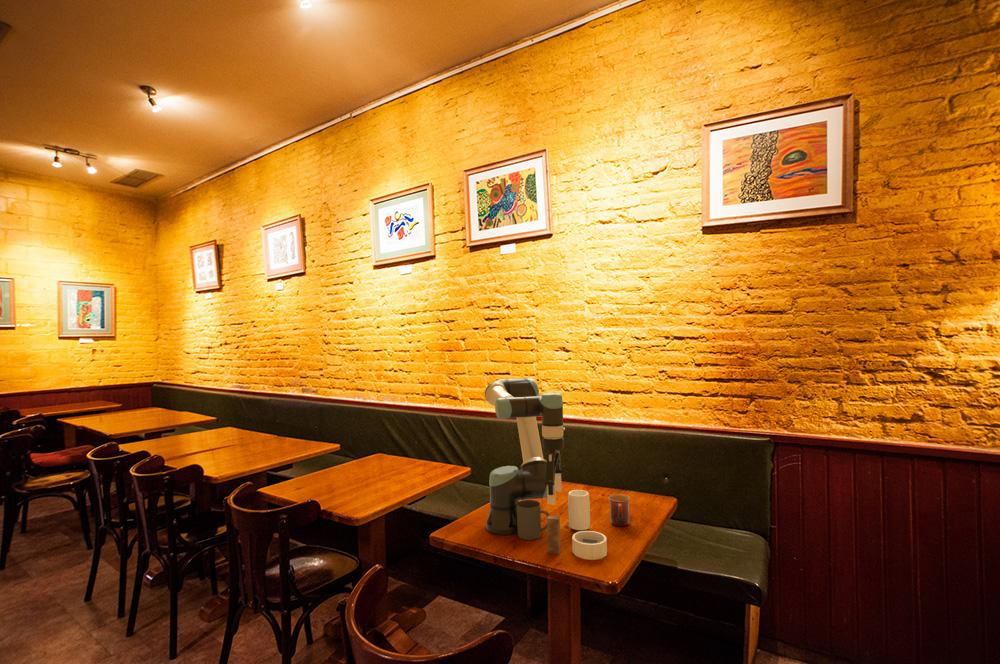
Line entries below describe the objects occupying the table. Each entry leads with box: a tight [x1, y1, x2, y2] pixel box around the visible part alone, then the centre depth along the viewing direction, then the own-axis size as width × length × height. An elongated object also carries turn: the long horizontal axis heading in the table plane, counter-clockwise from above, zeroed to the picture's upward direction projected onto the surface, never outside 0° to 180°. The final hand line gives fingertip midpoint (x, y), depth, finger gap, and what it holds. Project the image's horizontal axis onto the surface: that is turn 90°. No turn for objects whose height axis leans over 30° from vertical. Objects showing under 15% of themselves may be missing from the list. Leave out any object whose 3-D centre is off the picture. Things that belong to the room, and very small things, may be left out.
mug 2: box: [607, 493, 631, 527], centre depth 186 cm, size 12×9×10 cm
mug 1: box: [517, 499, 551, 541], centre depth 177 cm, size 14×9×12 cm
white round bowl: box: [571, 530, 608, 561], centre depth 162 cm, size 12×12×5 cm
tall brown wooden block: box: [546, 515, 561, 555], centre depth 163 cm, size 4×2×12 cm, turn 73°
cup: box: [567, 489, 591, 531], centre depth 183 cm, size 8×8×14 cm
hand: (554, 497), depth 164 cm, fingers open, 13 cm apart
